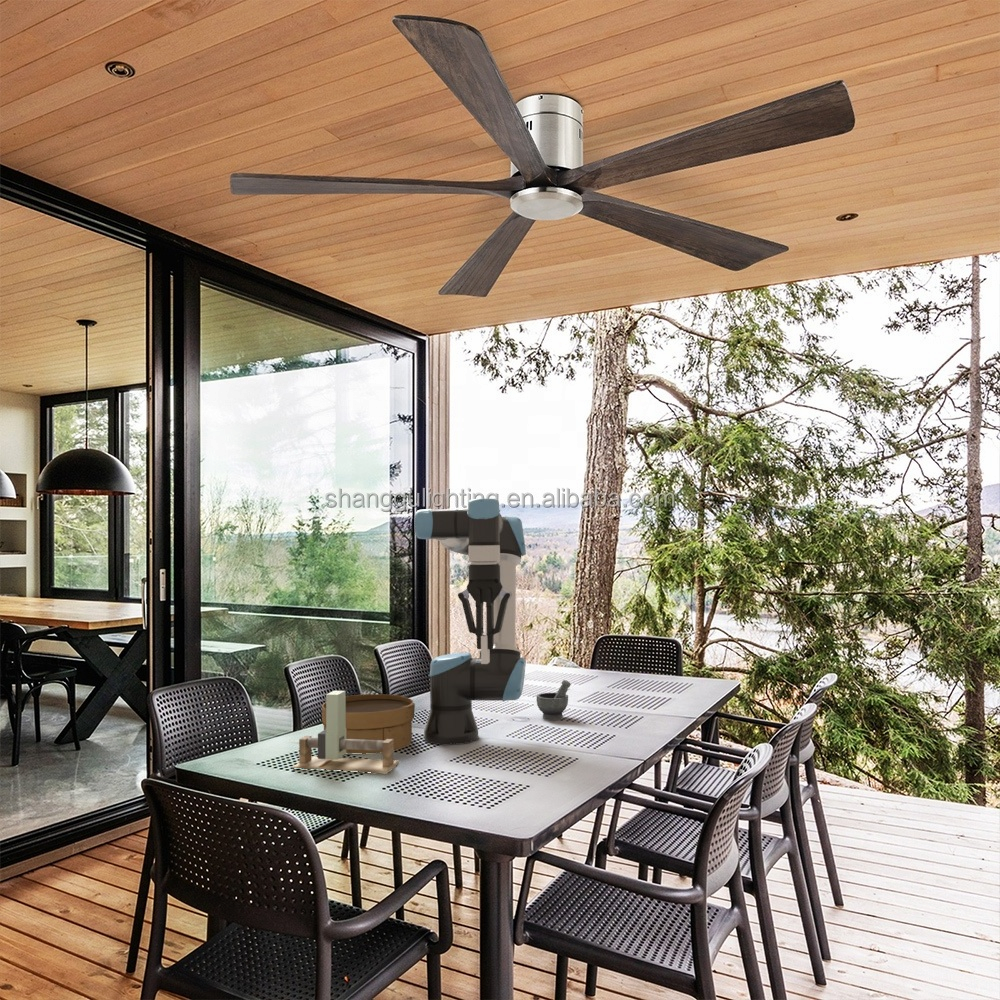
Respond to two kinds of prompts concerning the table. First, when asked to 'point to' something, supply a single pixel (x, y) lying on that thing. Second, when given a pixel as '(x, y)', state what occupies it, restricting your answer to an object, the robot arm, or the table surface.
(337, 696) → the pale green upright panel
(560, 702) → the mortar and pestle
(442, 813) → the table surface
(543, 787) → the table surface
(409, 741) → the steamer basket
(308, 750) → the pipe stand
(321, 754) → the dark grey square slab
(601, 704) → the table surface
